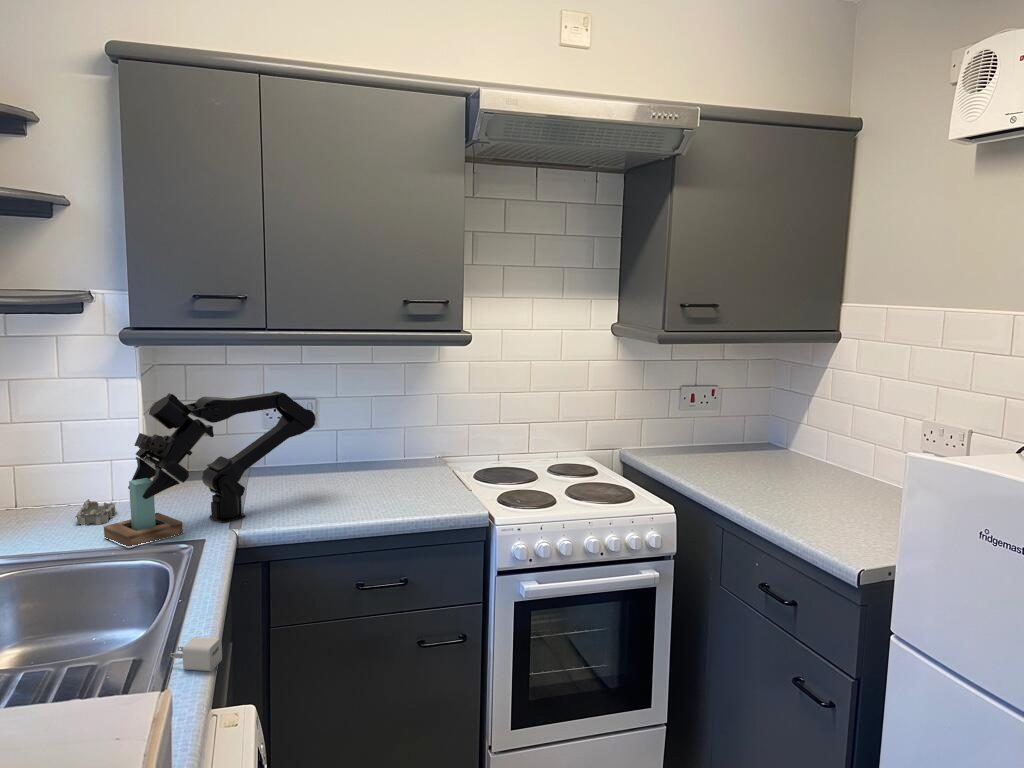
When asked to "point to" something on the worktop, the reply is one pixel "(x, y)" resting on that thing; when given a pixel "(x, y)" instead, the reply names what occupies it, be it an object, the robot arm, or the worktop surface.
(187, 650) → the usb wall charger
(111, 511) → the miniature castle
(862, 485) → the worktop surface
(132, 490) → the teal post
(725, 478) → the worktop surface
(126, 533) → the walnut box
